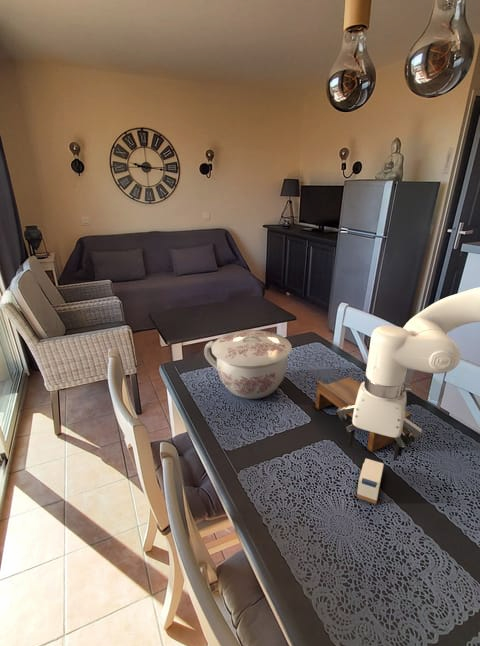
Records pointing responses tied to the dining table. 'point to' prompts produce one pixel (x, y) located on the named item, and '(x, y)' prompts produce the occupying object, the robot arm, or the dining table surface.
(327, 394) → the shoe shelf
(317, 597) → the dining table surface
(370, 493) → the slotted cream box
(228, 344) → the chamber pot
